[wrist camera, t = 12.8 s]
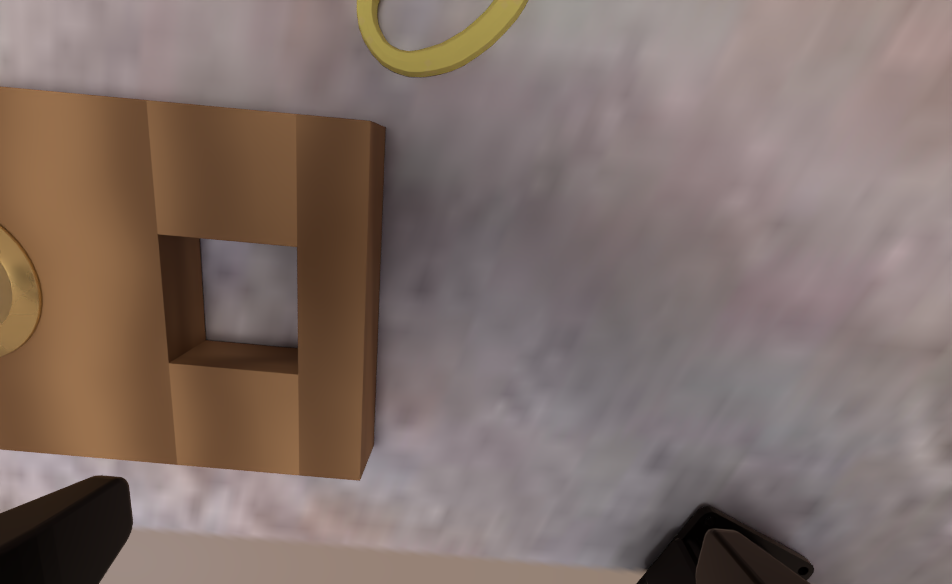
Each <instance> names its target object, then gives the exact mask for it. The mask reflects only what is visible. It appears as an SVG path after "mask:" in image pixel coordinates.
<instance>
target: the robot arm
mask: <svg viewBox="0 0 952 584" xmlns="http://www.w3.org/2000/svg"><path fill="white" fill-rule="evenodd" d="M708 517H711V518H709V519H707V520H705V519H706V518H708ZM132 525H133V517H132V508H131V500H130V491H129V485H128V482H127V481H126V480H125V479H124V478H122V477H114V476H102V475H101V476H93V477H90V478H88V479H85V480H83V481H80V482H78V483H75V484H73V485H70V486H68V487H65V488H63V489H60V490H58V491H55V492H53V493H50V494H48V495H45V496H43V497H40V498H38V499H35V500H33V501H30V502H28V503H25V504H23V505H20V506H18V507H15V508H13V509H10V510H8V511H5V512H3V513H0V584H99V583H100V581H101V580H102V578H103V577H104V575H105V573H106V572H107V570H108V569H109V567H110V566H111V564H112V563H113V561H114V560H115V558H116V557H117V555H118V554H119V552H120V550H121V549H122V547H123V546H124V544H125V543H126V541H127V539H128V537H129V535H130V533H131V530H132ZM813 572H814V568H813V566H812V564H811V563H810V562H809V561H808V560H807V559H806V558H805V557H804V556H802V555H800V554H798V553H796V552H795V551H793V550H791V549H789V548H787V547H785V546H783V545H782V544H780V543H778V542H776V541H774V540H772V539H770V538H769V537H767V536H765V535H763V534H761V533H759V532H757V531H756V530H754V529H752V528H750V527H748V526H746V525H745V524H743V523H741V522H739V521H737V520H735V519H733V518H732V517H730V516H728V515H726V514H724V513H722V512H720V511H719V510H717V509H715V508H713V507H710V506H704V507H702V508H700V509H699V510H698V511H697V512H696V513H695V514H694V516H693V517H692V518H691V519H690V520H689V521H688V523H687V524H686V525H685V526H684V527H683V529H682V530H681V531H680V532H679V533H678V535H677V536H676V537H675V538H674V539H673V541H672V542H671V543H670V544H669V545H668V547H667V548H666V549H665V550H664V551H663V553H662V554H661V555H660V556H659V557H658V559H657V560H656V561H655V562H654V563H653V565H652V566H651V567H650V568H649V569H648V570H647V572H646V573H645V574H644V575H643V576H642V578H641V579H640V580H639V581H638V583H637V584H810V583H809V582H807V579H808V578H809V577H810V576H811V575H812V574H813Z"/></svg>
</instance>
